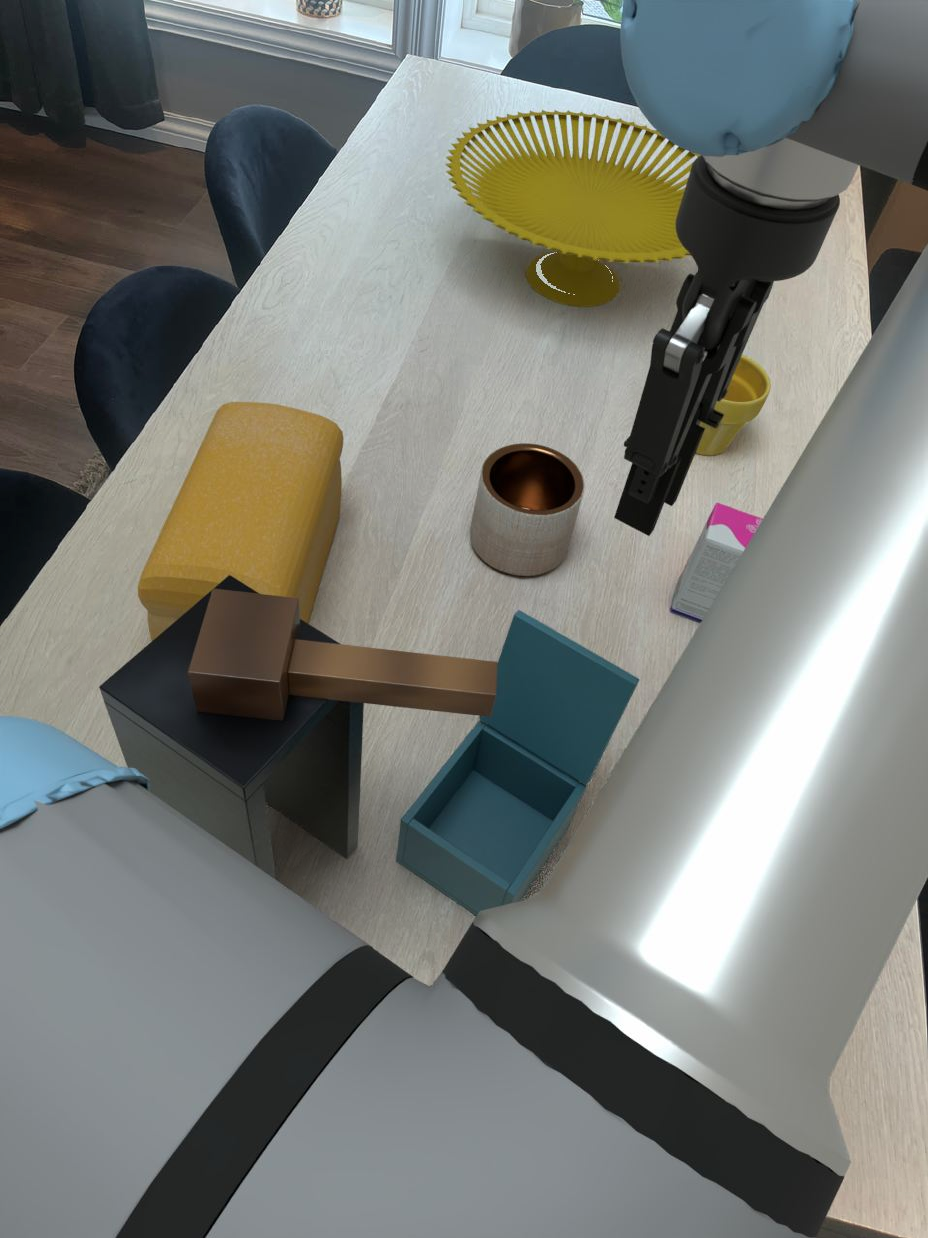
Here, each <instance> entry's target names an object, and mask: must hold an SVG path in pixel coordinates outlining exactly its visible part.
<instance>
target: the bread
mask: <svg viewBox="0 0 928 1238" xmlns="http://www.w3.org/2000/svg"><path fill="white" fill-rule="evenodd" d="M343 448H344V432H343V431H342V429H341V428H340V426H339V425H338V424H337V423H336V422H334V421H333V420H331V419H329V418H327V417H325V416H323V415H320V414H317V413H314V412H310V411H306V410H302V409H299V408H294V407H292V406H286V405H281V404H278V403H269V402H253V401H251V402H250V401H231V402H227V403H224V404H222V405H221V406H220V407H219V408H218V409H217V410H216V412H215V414H214V416H213V418H212V420H211V422H210V424H209V427H208V429H207V431H206V433H205V435H204V438H203V440H202V442H201V444H200V446H199V448H198V450H197V453H196V455H195V457H194V459H193V461H192V463H191V466H190V468H189V470H188V472H187V473H186V476H185V478H184V481H183V483H182V485H181V487H180V489H179V491H178V494H177V495H176V498H175V500H174V502H173V504H172V507H171V509H170V511H169V513H168V515H167V517H166V519H165V522H164V524H163V525H162V528H161V530H160V533H159V535H158V536H157V539H156V541H155V543H154V545H153V547H152V550H151V552H150V554H149V556H148V558H147V560H146V563H145V565H144V567H143V568H142V572H141V575H140V578H139V581H138V586H137V597H138V599H139V601H140V603H141V605H142V606H143V608H144V609H145V610H146V611H147V624H148V625H147V626H148V631H149V636H150V640H151V642H152V641H153V640H154V639H155V638H156V637H157V636H159V635H160V634H161V633H162V632H163V631H164V630H166V629H167V628H168V627H169V626H170V625H171V624H173V623H174V622H175V621H176V620H177V619H178V618H180V617H181V616H182V615H183V614H184V613H185V612H187V611H188V610H189V609H190V608H191V607H192V606H194V605H195V604H196V603H197V602H198V601H199V600H201V599H202V598H203V597H204V596H205V595H206V594H208V593H209V592H210V591H211V590H212V589H213V588H215V587H216V586H217V585H218V584H219V583H220V582H222V581H223V580H224V579H225V578H226V577H227V576H229V575H231V576H232V577H234V578H236V579H237V580H239V581H240V582H242V583H244V584H245V585H247V586H248V587H250V588H252V589H253V590H255V591H256V592H258V593H260V594H266V595H274V596H283V597H292V598H298V599H299V614H300V619H301V620H303V621H304V622H306V623H308V624H309V622H310V618H311V616H312V612H313V608H314V605H315V602H316V598H317V595H318V592H319V589H320V586H321V582H322V579H323V576H324V571H325V568H326V565H327V561H328V558H329V555H330V551H331V548H332V545H333V541H334V538H335V535H336V531H337V527H338V523H339V517H340V512H341V505H342V504H341V503H342V494H343V493H342V491H343V486H342V485H343V484H342V483H343V479H342V478H343V477H342V476H343V475H342V463H341V457H342V454H343Z"/></svg>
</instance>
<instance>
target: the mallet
mask: <svg viewBox="0 0 928 1238" xmlns="http://www.w3.org/2000/svg"><path fill="white" fill-rule="evenodd" d="M497 666H498V661H492V660H483V659H475V658H465V657H456V656H448V655H440V654H429V653H421V652H413V651H403V650H395V649H394V650H393V649H385V648H377V647H369V646H368V647H367V646H358V645H350V644H342V643H340V644H333V643H324V642H315V641H306V640H301V634H300V614H299V599H298V598H292V597H283V596H274V595H266V594H257V593H248V592H240V591H231V590H222V589H213V590H212V593H211V597H210V600H209V603H208V607H207V610H206V613H205V617H204V620H203V623H202V627H201V630H200V633H199V637H198V640H197V643H196V647H195V650H194V653H193V657H192V660H191V663H190V667H189V670H188V675H189V679H190V684H191V688H192V693H193V697H194V702H195V707H196V711H197V712H206V713H215V714H224V715H233V716H243V717H252V718H261V719H270V720H280V721H283V720H284V715H285V711H286V706H287V701H288V697H289V695H294V696H303V697H312V698H322V699H331V700H340V701H349V702H358V703H364V704H368V705H378V706H386V707H394V708H396V707H397V708H405V709H412V710H413V709H414V710H424V711H430V712H431V711H432V712H439V713H440V712H442V713H450V714H461V715H468V716H469V715H470V716H478V717H479V716H486V717H491V714H492V710H493V706H494V702H495V698H496V688H497Z"/></svg>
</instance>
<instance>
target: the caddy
mask: <svg viewBox="0 0 928 1238" xmlns="http://www.w3.org/2000/svg"><path fill="white" fill-rule="evenodd" d="M587 787H588V785H585V784H583V783H582V782H580V781H579V780H577V779H575V778H574V777H572V776H571V775H569V774H567V773H566V772H564V771H562V770H561V769H559V768H558V767H556V766H554V765H553V764H551V763H550V762H548V761H546V760H545V759H543V758H542V757H540V756H538V755H537V754H535V753H533V752H532V751H530V750H529V749H527V748H525V747H524V746H522V745H521V744H519V743H517V742H516V741H514V740H512V739H511V738H509V737H508V736H506V735H504V734H503V733H501V732H500V731H498V730H496V729H495V728H493V727H492V726H490V725H488V724H487V723H485V722H483V721H482V720H480V719H479V720H478V721H477V722H476V724H475V725H474V726H473V728H471V730H470V731H469V733H468V734H467V735H466V736H465V738H464V739H463V740H462V742H460V744H459V745H458V746H457V748H456V749H455V750H454V751H453V753H452V754H451V756H450V757H449V758H448V759H447V760H446V761H445V762H444V764H443V766H442V767H441V768H440V769H439V770H438V772H437V773H436V774H435V775H434V777H433V778H432V779H431V781H430V782H429V783H428V784H427V786H426V787H425V789H424V790H423V791H422V792H421V793H420V795H419V796H418V797H417V798H416V800H414V802H413V803H412V805H411V806H410V807H409V809H408V810H407V811H406V812H405V813H404V814H403V816H402V817H401V819H400V824H399V832H398V841H397V849H396V855H395V856H396V857H395V861H396V862H397V863H399V864H400V865H401V866H403V867H404V868H406V869H408V870H409V871H410V872H411V873H413V874H415V875H416V876H418V877H419V878H420V879H421V880H423V881H425V882H426V883H428V884H429V885H430V886H432V887H433V888H435V889H436V890H438V891H439V892H441V893H442V894H444V895H445V896H447V898H449V899H451V900H452V901H454V902H455V903H457V904H458V905H460V906H461V907H462V908H464V909H465V910H467V911H469V912H470V913H471V914H472V915H474V916H475V917H476V916H477V915H478V913H479V912H480V911H482V910H486V909H490V908H495V907H499V906H503V905H507V904H511V903H515V902H519V901H523V898H524V897H525V895H526V894H527V892H528V890H529V889H530V888H531V886H532V884H533V883H534V881H535V880H536V878H537V877H538V875H539V873H541V871H542V869H543V868H544V866H545V865H546V863H547V862H548V860H549V859H550V857H551V855H552V853H553V852H554V850H556V848H557V846H558V844H559V843H560V841H561V840H562V838H563V836H565V833H566V832H567V830H568V829H569V828H570V825H571V823H572V820H573V818H574V817H575V813H576V811H577V809H578V807H579V806H580V805H579V804H580V803H581V800H582V798H583V796H584V794H585V791H586V789H587Z"/></svg>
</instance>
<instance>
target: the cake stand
mask: <svg viewBox="0 0 928 1238" xmlns="http://www.w3.org/2000/svg"><path fill="white" fill-rule="evenodd" d="M555 115H556V116H557V118H558V121H559V127H560V133H561V141H562V150H563V153H562V150H561V147H560V144H559V139H558V133H557V127H556V119H555V118H556V117H555ZM543 116H545V117H546V121H547V124H548V128H549V132H550V137H551V141H552V147H553V150H552V147H551V145H550V143H549V139H548V136H547V132H546V128H545V123H544V117H543ZM568 116H570V124H571V134H572V136H571V137H572V155H571V150H570V145H569V137H568V135H569V134H568V118H567V117H568ZM532 117H533V118H534V120H535V123H536V125H537V128H538V131H539V134H540V137H541V140H542V144H543V147H544V149H543V147H542V146H541V144H540V141H539V138H538V137H537V134H536V130H535V128H534V125H533V121H532ZM580 117H582V121H583V122H582V123H583V124H582V125H583V131H582V132H583V133H582V134H583V135H582V136H583V137H582V138H583V140H582V149H581V150H582V151H581V155H580V147H579V126H580ZM495 118H496V119H493V120H491V119H485V120H486V122H485V123H479V122H477V123H476V124H477V126H478V127H468V128H469V130H470V131H469V132H464V131H461V134H462V135H463V136H464V137H455V139H456V141H457V142H458V143H457V142H456V143H452V142H451V143H450V144H451V146H452V147H453V148H454V149H447V151H448V153H450V154H451V155H449V156H445V158H446V159H447V160H448V161H449V162H448V163H445V166H446V167H448V169H449V170H445V172H446V174H448V175H450V176H451V177H450V178H448V181H450V182H451V183H453V184H454V185H453V186H451V188H452V189H454V190H456V191H457V192H459V193H458V194H457V196H458V197H460V198H462V199H463V200H465V201H464V202H463V203H464V204H465V205H467V206H469V207H471V208H473V209H472V212H475V213H477V214H479V215H480V216H482V217H481V219H483V220H485V221H487V222H491V223H492V226H494V227H496V228H498V229H502V230H504V233H507V234H510V235H513V236H515V237H517V238H518V239H520V240H523V241H525V242H529V243H531V245H534V246H538V247H543V248H546V249H547V250H551V251H549V252H546V253H542V254H539V255H537V256H535V257H534V258H532V259H530V261H529V262H528V264H527V266H526V269H525V277H526V280H527V283H528V284H529V285H530V287H531V288H532V289H533V290H534V291H535V292H536V293H538V294H539V295H541V296H542V297H544V298H545V299H548V300H550V301H552V302H555V303H558V304H560V305H565V306H569V307H570V306H571V307H577V308H578V307H579V308H592V307H599V306H602V305H604V304H605V305H606V304H607V303H609V302H611V301H613V300H614V299H615V298H616V297H617V296H618V294H619V292H620V289H621V280H620V278H619V275H618V274H617V273H616V271H615V270H614V269H612V267H610V266H609V265H608V264H606V263H605V262H609V263H611V262H612V263H614V262H615V263H616V262H617V263H622V264H629V263H637V264H644V263H659V261H661V262H672V261H673V260H685V259H687V258H686V256H689V257H690V256H691V254H690V253H689V252H688V251H687V250H686V249H685V248H684V247H683V245H682V244H681V242H680V241H679V239H678V236H677V233H676V228H675V223H676V217H677V214H678V211H679V207H680V204H681V201H682V197H683V194H684V191H685V186H686V184H687V181H688V177H687V178H685V179H683V180H681V179H682V178H683V177H685V176H686V175H688V174H689V173H690V171H691V168H692V164H693V162H691V163H690V164H689V165H688V166H686V167H685V168H684V169H683V170H682V171H681V172H679V173H678V174H677V175H675V176H673V174H675V173H676V172H677V171H678V170H679V169H680V168H681V167H683V166H684V165H685V164H687V163H688V162H689V161H690V160H691V159H693V158H695V156H696V158H698V157H699V156H700V155H699V154H696V153H693V152H690V151H687V153H686V154H685V155H684V156H683V157H682V158H681V159H679V161H678V162H677V163H676V164H675V165H674V166H673V167H672V168H671V169H669V170H668V171H666V173H664V174H662V173H663V172H664V171H665V170H666V169H667V168H668V167H669V166H670V165H671V164H672V163H673V162H675V160H677V158H679V157H680V156H681V155H682V154H683V153H684V152H685V151H686V150H685V149H683V148H681V147H679V146H677V147H676V149H675V150H674V151H673V153H672V154H671V155H670V156H669V157H668V158H667V159H666V160H665V161H664V163H662V165H661V166H660V167H658V168H657V169H656V170H655V171H654V172H652V171H653V170H654V169H655V168H656V166H657V165H658V164H659V163H660V162H661V160H663V158H664V157H665V156H667V154H668V153H669V152H670V151H671V150H672V149H673V148H674V146H676V145H675V144H673V143H672V142H671V141H669V140H668V141H667V142H666V143H665V145H664V146H663V148H662V149H661V151H660V152H659V153H658V154H657V156H655V158H654V159H653V161H651V163H650V164H649V165H648V166H647V167H646V168H645V166H646V165H647V163H648V161H649V160H650V159H651V158H652V156H653V155H654V153H655V152H656V151H657V149H658V148H659V147H660V146H661V145H662V143H663V142H664V141H665V140H667V139H666V138H665V137H663V136H662V135H661V134H660V133H659V132H658V131H657V130H656V129H651V128H649V127H648V124H647V125H639V124H637V123H636V124H635V121H629V122H628V121H625V120H623V119H622V118H621V117H620V118H612V117H610V116H609V115H608V114H607V115H606V116H601V115H598V114H597V113H595V112H594V113H592V114H587V113H584V112H583V111H580V112H573V111H570V110H569V109H568V110H567V111H566V112H563V111H558V110H557V109H554V111H546V110H544V109H542V110H541V111H540V112H535V111H532V110H529V112H527V113H525V112H521V111H517V114H509V113H506V116H503V117H501V116H498V115H496V116H495ZM520 118H522V119H523V122H524V124H525V127H526V129H527V131H528V133H529V135H530V138H531V140H532V143H533V145H534V148H535V150H534V148H533V146H532V145H531V143H530V141H529V139H528V137H527V135H526V133H525V130H524V127H523V125H522V123H521V120H520ZM593 118H594V119H595V128H594V136H593V137H594V138H593V142H592V150H591V154H590V157H589V148H590V147H589V146H590V145H589V144H590V135H591V128H592V127H591V125H592V119H593ZM510 120H511V121H512V122H513V125H514V126H515V128H516V131H518V134H519V136H520V137H521V139H522V141H523V145H524V146H525V148H526V150H527V151H526V150H525V149H524V147H523V145H522V143H521V142H520V141H519V139H518V137H517V135H516V133H515V131H514V129H513V127H512V125H511V122H510ZM605 121H608V123H607V130H606V135H605V139H604V143H603V147H602V151H601V154H600V157H599V148H600V144H601V143H600V142H601V138H602V133H603V128H604V125H605ZM500 123H501V125H503V127H504V129H505V131H506V132H507V134H508V135H509V137H510V138H511V140H512V142H513V144H514V146H515V147H516V149H517V150H516V149H515V147H514V146H513V145H512V143H511V141H510V140H509V138H508V137H507V135H506V133H505V132H504V130H503V129H502V127H501V125H500ZM618 123H620V127H619V132H618V135H617V138H616V142H615V144H614V147H613V150H612V153H611V155H610V158H609V159H608V155H609V151H610V147H611V143H612V140H613V137H614V133H615V131H616V127H617V125H618ZM491 127H493V128H494V130H495V131H496V133H497V134H498V135H499V137H500V138H501V140H502V142H503V143H504V144H505V146H506V147H507V149H508V150H507V149H506V148H505V147H504V145H503V144H502V143H501V142H500V140H499V139H498V137H497V136H496V135H495V133H494V131H493V130H492V128H491ZM630 127H632V131H631V133H630V137H629V139H628V141H627V144H626V146H625V148H624V150H623V152H622V155H620V156H621V157H620V159H619V160H618V162H617V159H618V156H619V153H620V150H621V147H622V145H623V142H624V139H625V137H626V135H627V133H628V131H629V129H630ZM483 131H484V132H485V133H486V135H487V136H489V138H490V139H491V140H492V142H493V143H494V144H495V146H496V147H497V148H498V149H499V151H500V152H499V151H498V150H497V148H495V147H494V146H493V144H492V143H491V142H490V140H489V139H488V137H486V135H485V134H484V132H483ZM642 131H645V132H644V133H643V135H642V138H641V140H640V142H639V144H638V146H637V148H636V149H635V152H634V153H633V155H632V157H631V158H630V160H629V161H628V160H627V159H628V157H629V155H630V154H631V151H632V149H633V147H634V145H635V143H636V141H637V139H638V137H639V136H640V134H641V133H642ZM476 135H477V136H478V137H479V138H480V140H482V142H483V144H485V145H486V147H488V148H489V150H490V151H491V152H492V153H490V151H488V150H487V149H486V147H484V146H483V144H482V143H481V142H480V141H479V139H477V137H476ZM654 135H656V137H655V138H654V141H653V142H652V144H651V146H649V149H648V150H647V152H646V153H645V155H644V156H643V157H642V159H641V160H640V162H639V163H638V164H637V166H635V164H636V163H637V161H638V160H639V157H640V156H641V154H642V152H643V151H644V149H645V148H646V146H647V145H648V143H649V141H650V140H651V139H652V137H653V136H654ZM470 141H471V142H472V143H473V144H474V145H475V146H476V147H477V148H478V149H479V150H480V151H481V152H482V153H483V154H484V155H485V156H484V155H482V154H481V152H479V151H478V150H477V149H476V147H475V146H474V145H473V144H472V143H471V142H470ZM466 147H467V148H468V149H469V150H470V151H472V152H473V153H474V155H476V156H477V157H478V158H479V159H480V160H478V159H477V158H476V157H475V156H474V155H473V154H472V153H471V152H469V151H468V149H467V148H466ZM508 151H509V152H508ZM510 153H511V154H510ZM463 154H464V155H465V156H466V157H468V158H469V159H470V160H471V161H472V162H473V163H474V164H473V163H472V162H471V161H470V160H469V159H467V158H466V157H465V156H464V155H463ZM492 154H493V155H494V156H493V155H492ZM580 156H581V157H580ZM598 157H599V158H598ZM487 158H488V159H487ZM598 159H599V160H598ZM461 160H462V162H461ZM607 160H608V161H607ZM481 161H482V162H483V163H482V162H481ZM626 161H628V163H627V162H626ZM463 162H464V163H465V164H466V165H465V164H464V163H463ZM616 162H617V164H616ZM626 163H627V164H626ZM475 164H476V165H475ZM467 165H468V166H469V167H471V168H472V169H473V170H474V171H473V170H472V169H470V168H469V167H468V166H467ZM634 166H635V167H634ZM461 168H462V169H463V170H462V169H461ZM644 168H645V169H644ZM643 169H644V170H643ZM464 170H465V171H464ZM468 173H469V174H468ZM671 176H673V177H672V178H670V177H671ZM464 177H465V178H464ZM669 178H670V179H669ZM469 180H470V181H469ZM679 180H681V181H680V182H678V181H679ZM677 182H678V183H677ZM683 187H684V188H683ZM554 252H557V253H554ZM550 253H554V254H551V255H549V256H547V257H546V258H544V260H543V261H542V263H541V264H540V265H541V270H542V274H544V275H543V276H544V277H545V278H546V279H547V281H548V283H551V285H553V286H556V288H557V289H560V290H562V291H565V292H566V293H564V292H561V291H558V290H556V289H553V288H551V287H550V286H548V285H547V284H545V283H544V282H543V281H542V280H541V279H540V278H539V276H538V275H537V272H536V264H537V262H538V261H539V259H541V258H542V257H543V256H545V255H547V254H550ZM598 260H599V261H598ZM604 261H605V262H604ZM605 265H606V266H607V267H608V268H609V269H608V268H607V267H606V266H605ZM609 270H610V271H611V273H612V274H611V273H610V271H609ZM612 276H613V279H612ZM612 280H613V282H612ZM568 293H570V294H568ZM573 294H575V295H573Z"/></svg>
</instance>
